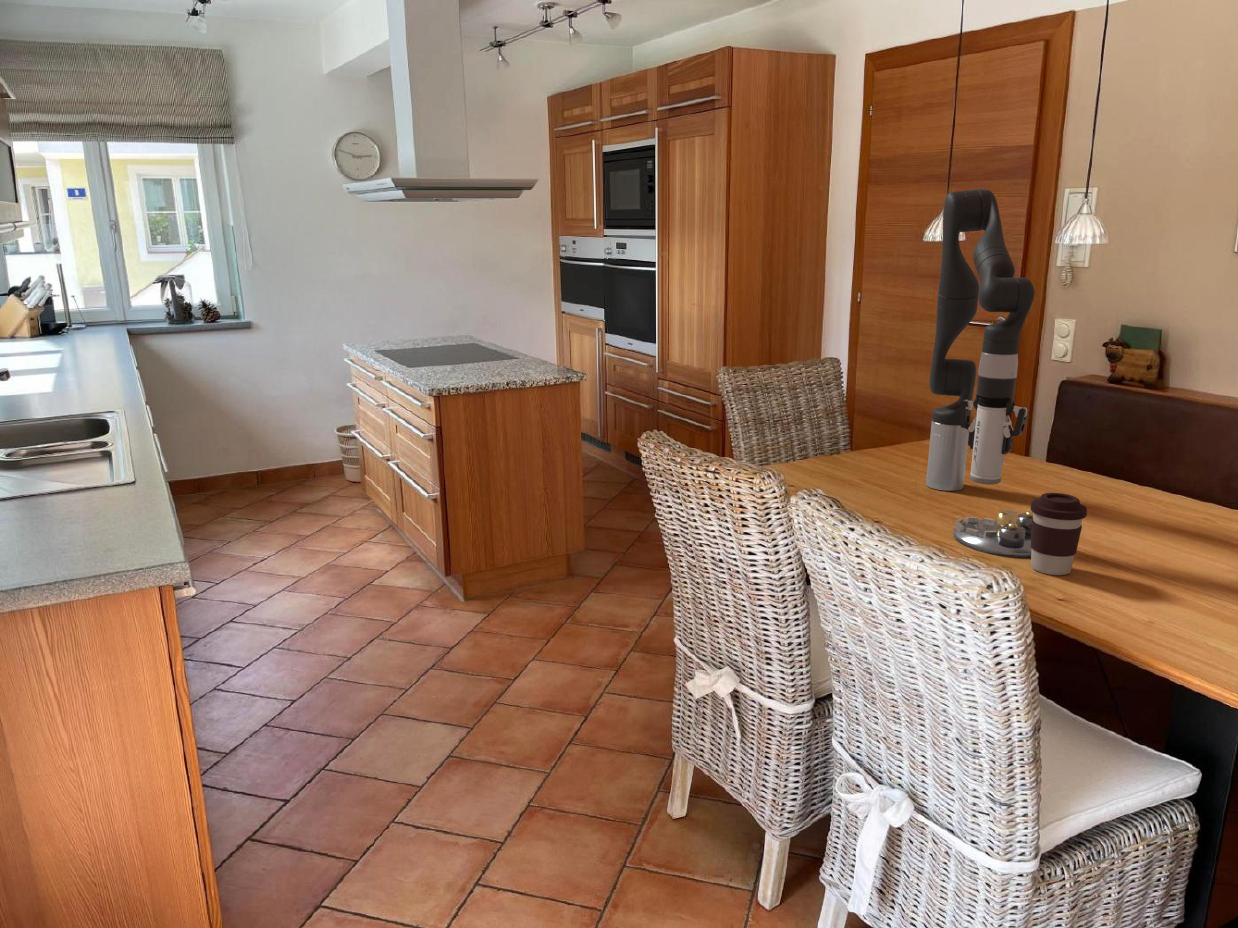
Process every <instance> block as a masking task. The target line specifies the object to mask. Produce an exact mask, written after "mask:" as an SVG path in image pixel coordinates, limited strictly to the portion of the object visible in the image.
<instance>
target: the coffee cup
mask: <svg viewBox="0 0 1238 928" xmlns="http://www.w3.org/2000/svg"><path fill="white" fill-rule="evenodd" d="M1030 511H1031V512H1033V519H1032V526H1031V548H1032V551H1031V558H1030V566H1031V568H1032V569H1033V570H1035V571H1037V572H1039V573H1041V574H1044V575H1048V576H1049V575H1051V576H1066V575H1068V574H1070V573H1071V571H1072V567H1073V564H1074V558H1075V555H1076V554H1077V552H1078V551H1077V550H1078V546H1079V541H1080V537H1081V532H1082V529H1083V525H1082V521H1083V520H1084V519H1085V518H1087V514H1088V508H1087V506H1086V505H1084V504H1082V503H1081V502H1080V499H1079V498H1078V497H1076V496H1075V495H1071V494H1068V493H1067V494H1066V493H1060V492H1045V493H1043V494H1041V495H1040V496H1039V498H1036V499H1033V500H1032V501H1031V502H1030Z"/></svg>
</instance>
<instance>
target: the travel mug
mask: <svg viewBox="0 0 1238 928" xmlns="http://www.w3.org/2000/svg"><path fill="white" fill-rule="evenodd" d="M1007 399H1008V398H1005V399H991V398H984V397H980V396H979V401H978V408H977V411H976V415H977V418H976V426H975V436H974V445H973V449H972V455H971V466H970V474H969V475H970V476H969V479H970V481H972V482H973V483H976V484H981V485H989V486H990V485H992V486H993V485H998V484H1000V483H1001V482H1002V473H1003V467H1004V466H1003V465H1004V460H1005V459H1004V457H1005V454H1002V445H1003V437H1005V435H1004V433H1003V431H1004V428H1003V427H1002V424H1003V419H1004V420H1005V422H1008V416H1006V411H1005V410H1006V403H1007V402H1008V401H1007Z"/></svg>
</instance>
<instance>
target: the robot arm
mask: <svg viewBox="0 0 1238 928" xmlns="http://www.w3.org/2000/svg"><path fill="white" fill-rule="evenodd" d="M980 231H984V232H983V234H982V235H981V237H980V239H979V240H978V242H977V243H976V245H975V247H974V250H973V256H972V257H973V259H972V260H973V264H974V267H975V270H976V271H977V275H978V278H979V281H978V278H977V276H976V274H975V273H974V271H973V269H972V268H971V266H970V265H969V263H968V262H967V259H966V258H965V256H964V254H963V252H962V250H961V247H960V246H961V245H960V239H959V237H960V233H968V232H969V233H971V232H980ZM941 241H942V242H941V243H942V244H941V245H942V247H941V248H942V249H941V250H942V251H941V262H940V263H941V264H940V273H939V281H938V282H939V284H938V290H937V293H938V294H937V302H936V322H935V335H934V345H933V349H932V350H933V351H932V358H931V365H930V369H929V370H930V371H929V389H930V392H931V394H933V395H939V396H950V397H951V396H952V397H953V396H954V397H958V399H957V400H956V401H955V402H953V403H950V404H948V405H945V406H941V407H940V406H939V407H937V408H935V409H933V411H932V415H931V426H930V427H931V428H930V437H929V447H928V448H929V449H928V460H927V468H926V480H925V485H926V486H927V487H928V488H931V489H934V490H940V491H946V492H947V491H950V492H951V491H960V490H962V489H964V484H965V477H966V476H965V475H966V466H967V465H966V464H967V456H968V447H969V449H970V450H973V445H974V436H975V426H976V418H977V414H976V415H975V416H974V418H973V419H972V422H971V415H972V414H971V413H972V409H973V408H974V409H975V410H976V412H977V408H978V401H979V396H980V397H984V398H991V399H1005V398H1008V399H1007V401H1008V402H1007V403H1006V410H1005V411H1006V416H1008V422H1005V420H1004V419H1003V424H1002V427H1003V428H1004V431H1003V433H1004V435H1005V437H1003V445H1002V454H1004V456H1005V455H1008V454H1009V452H1011V451H1012V450H1013V443H1014V442H1013V441H1014V437H1019V436H1020V435H1023V434H1024V433H1025V431H1024V430H1025V428H1026V423H1027V419H1028V415H1029V411H1030V409H1029V407H1028V406H1024V407H1022V406H1017V405H1016V404H1015V395H1016V394H1015V393H1016V385H1017V376H1018V368H1019V348H1020V347H1019V346H1020V338H1021V334H1022V330H1023V328H1024V325H1025V321H1026V318H1027V317H1028V314H1029V312H1030V310H1031V308H1032V306H1033V302H1034V299H1035V296H1036V295H1035V293H1036V292H1035V286H1034V284H1033V283H1032V281H1031V280H1030V279H1029V278H1026V277H1014V276H1015V272H1016V271H1015V265H1014V263H1013V260H1012V257H1011V256H1010V253H1009V250H1008V249H1007V246H1006V243H1005V237H1004V232H1003V227H1002V221H1001V215H1000V210H999V204H998V201H997V198H996V195H995V194H994V192H993V191H992V190H990V189H986V188H985V189H982V188H981V189H968V190H967V189H965V190H958V191H957V190H956V191H950V192H949V193H948V194H947V195H946V197H945V199H944V203H943V209H942V240H941ZM978 305H979V306H980V307H981V308H982V309H983V310H985V311H986V312H989V313H1008V315H1007V317H1006V318H1005V319H1004V320H1003V321H999V322H996V323H991V324H989V325H987V326H986V327H985V328H984V331H983V337H982V338H983V340H982V349H981V355H980V358H979V364H978V368H977V365H976V363H975V361H974V360H971V359H960V358H958V359H957V358H956V359H955V358H946V356H947V355H948V352H949V350H950V348H951V347H952V345H953V344H954V343H955V340H957V338H958V336H959V335H960V334H961V333H962V332H963V331H964V330H965V329H966V328H967V327H968V326H969V324H970V323H971V322H972V320H974V318H975V315H976V314H977V311H978ZM977 373H978V374H977ZM976 378H977V384H976ZM975 386H976V392H975V393H976V394H975V398H974V399H973V397H974V389H975ZM1013 412H1014V415H1015V417H1016V421H1015V425H1014V428H1013V426H1012V425H1013V424H1012V420H1011V418H1010V415H1011V414H1012V413H1013Z"/></svg>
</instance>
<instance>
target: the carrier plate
mask: <svg viewBox="0 0 1238 928" xmlns="http://www.w3.org/2000/svg"><path fill="white" fill-rule="evenodd" d="M1032 519H1033V512H1032V511H1031V510H1030V511H1026V512H1025V513H1024V512H1023V513H1018V512H1016V511H1013V510H1008V509H1002V510H998V511H997V518H996V519H994V518H988V517H984V518H983V519H979V517H977V516H966V517H965V520H964V517H962V518H961V517H960V518H958V519H955V524H954V528H953V538H954V539H955V540H956V541H957V542H958V543H960V544H961V545H963V546H965V547H967V548H970V549H972V550H975V551H979V552H981V553H985V554H989V555H995V556H999V557H1009V558H1019V559H1020V558H1022V559H1023V558H1027V559H1028V558H1030V559H1031V551H1032V548H1031V526H1032Z"/></svg>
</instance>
